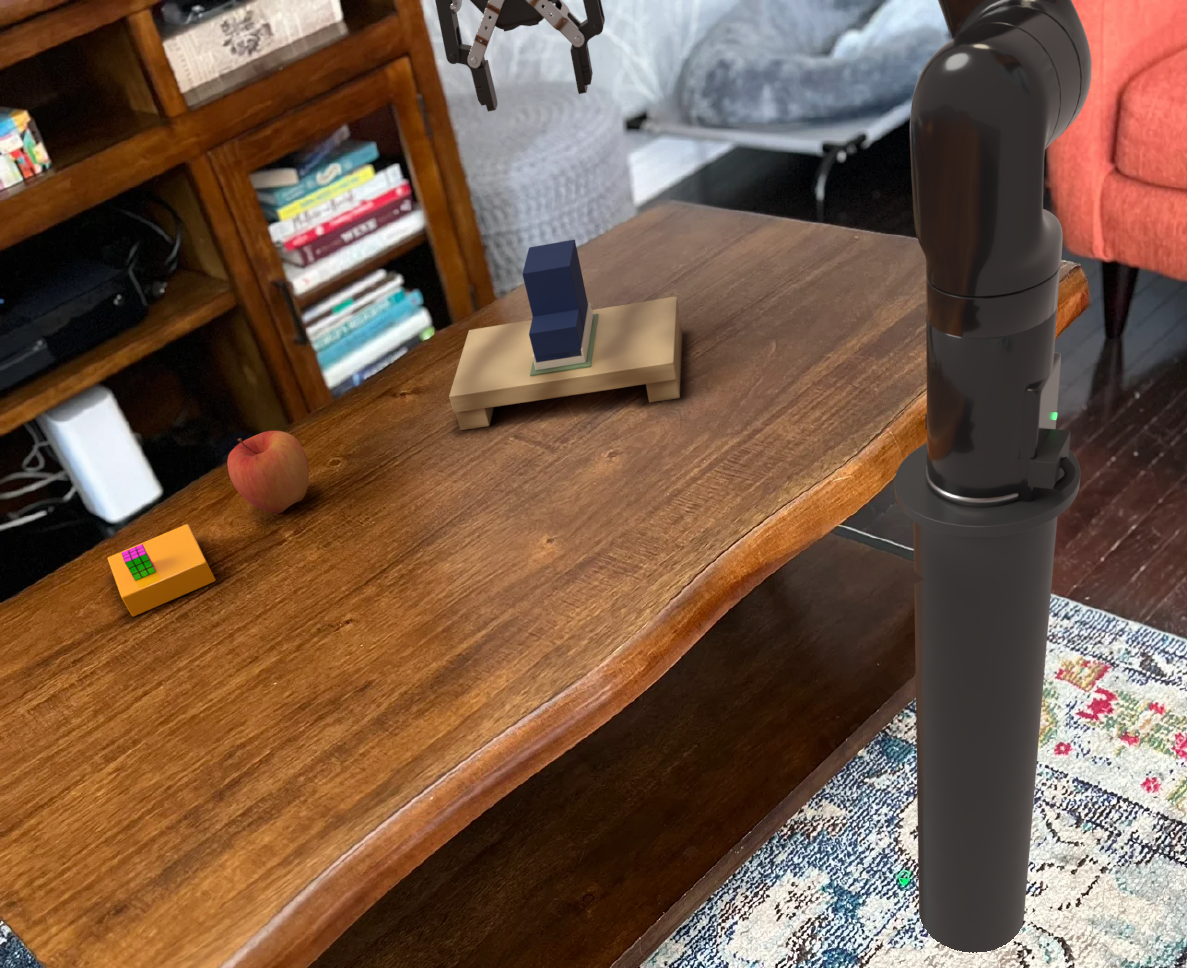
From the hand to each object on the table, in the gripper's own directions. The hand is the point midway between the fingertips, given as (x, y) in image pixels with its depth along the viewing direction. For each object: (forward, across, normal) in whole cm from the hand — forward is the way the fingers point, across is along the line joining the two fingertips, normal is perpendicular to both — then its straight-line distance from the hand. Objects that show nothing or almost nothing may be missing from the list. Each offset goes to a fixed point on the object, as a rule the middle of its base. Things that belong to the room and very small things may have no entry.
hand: (538, 99), depth 112 cm
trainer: (+20, -1, -7) cm, 21 cm away
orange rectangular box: (+24, -38, -33) cm, 56 cm away
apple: (+24, -28, -23) cm, 44 cm away
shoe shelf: (+24, -1, -7) cm, 25 cm away
